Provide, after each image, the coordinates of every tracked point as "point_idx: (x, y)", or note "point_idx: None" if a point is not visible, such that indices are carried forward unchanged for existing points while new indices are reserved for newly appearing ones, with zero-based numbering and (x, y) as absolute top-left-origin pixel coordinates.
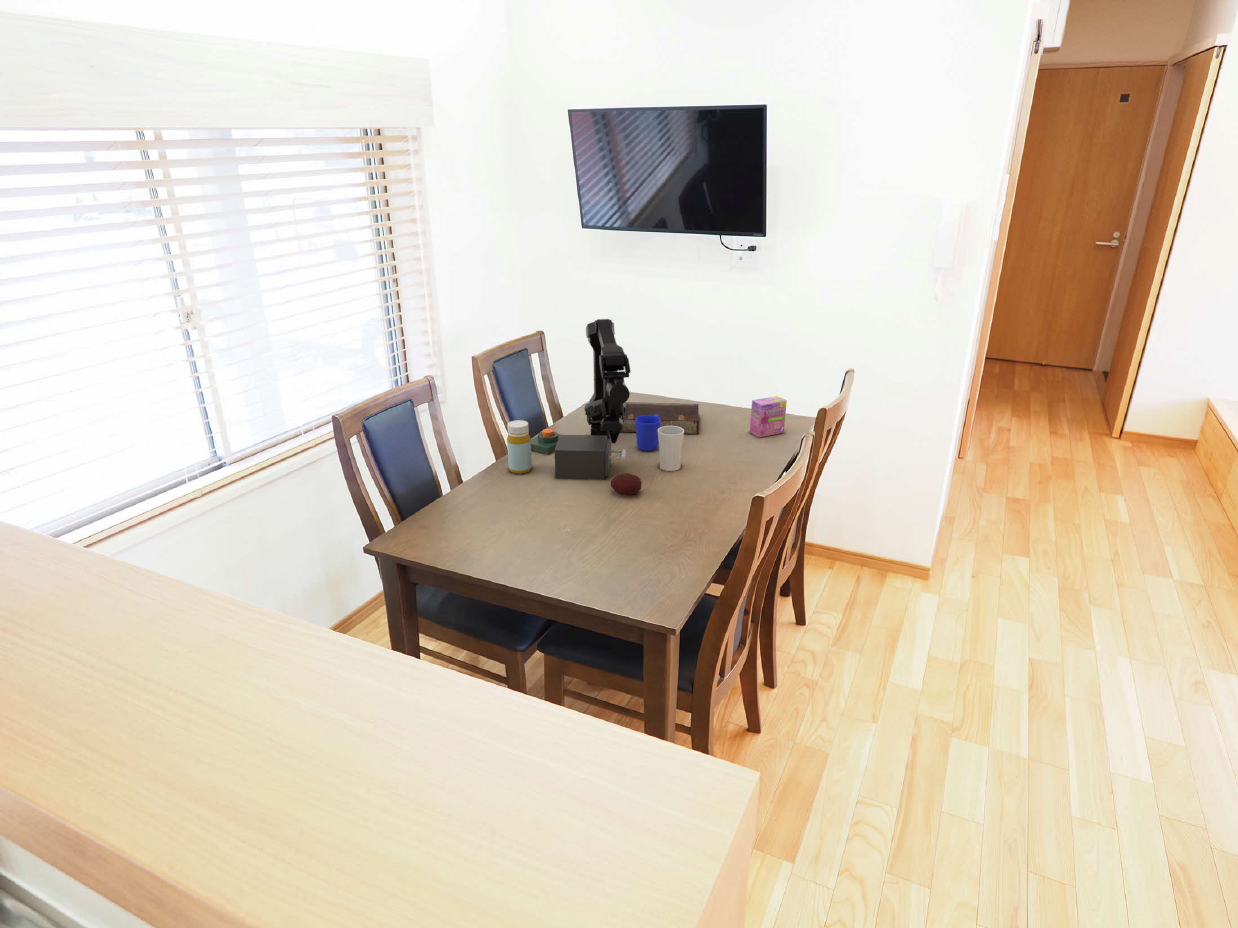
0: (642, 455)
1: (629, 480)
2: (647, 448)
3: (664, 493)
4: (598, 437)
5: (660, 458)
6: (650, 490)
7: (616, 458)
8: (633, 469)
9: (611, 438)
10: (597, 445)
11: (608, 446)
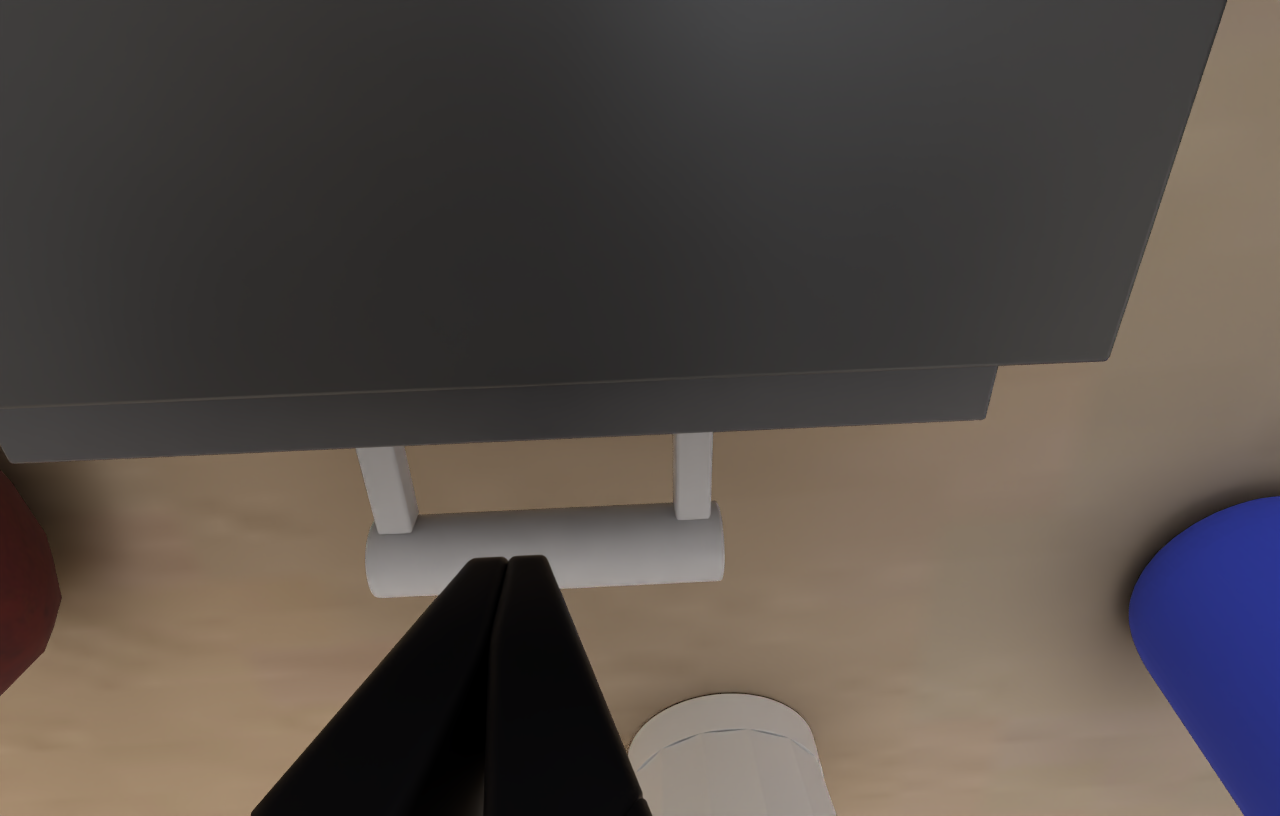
0: (1036, 541)
1: None
2: (1142, 610)
3: (135, 759)
4: (989, 92)
5: (697, 797)
6: (145, 670)
7: (367, 470)
8: (637, 494)
9: (383, 676)
10: (206, 155)
11: (470, 418)
